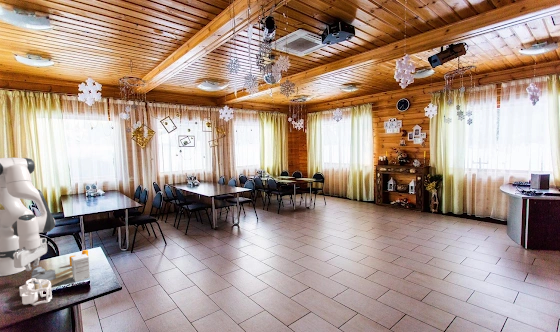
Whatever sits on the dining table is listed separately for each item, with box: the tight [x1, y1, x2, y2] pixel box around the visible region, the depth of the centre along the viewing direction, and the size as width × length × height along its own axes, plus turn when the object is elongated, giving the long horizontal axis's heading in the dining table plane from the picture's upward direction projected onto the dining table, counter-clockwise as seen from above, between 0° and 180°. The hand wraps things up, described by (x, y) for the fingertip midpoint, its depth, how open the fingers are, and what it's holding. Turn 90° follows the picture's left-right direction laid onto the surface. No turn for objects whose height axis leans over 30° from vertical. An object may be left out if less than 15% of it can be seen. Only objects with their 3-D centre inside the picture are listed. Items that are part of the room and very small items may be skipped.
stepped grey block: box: [30, 266, 46, 279], centre depth 156 cm, size 4×4×8 cm
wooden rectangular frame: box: [31, 267, 73, 290], centre depth 158 cm, size 7×24×8 cm, turn 162°
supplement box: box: [71, 253, 91, 283], centre depth 160 cm, size 7×7×13 cm
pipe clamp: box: [69, 249, 89, 267], centre depth 183 cm, size 12×4×6 cm, turn 174°
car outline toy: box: [18, 278, 53, 306], centre depth 139 cm, size 20×11×7 cm, turn 48°
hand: (32, 268), depth 154 cm, fingers open, 4 cm apart
